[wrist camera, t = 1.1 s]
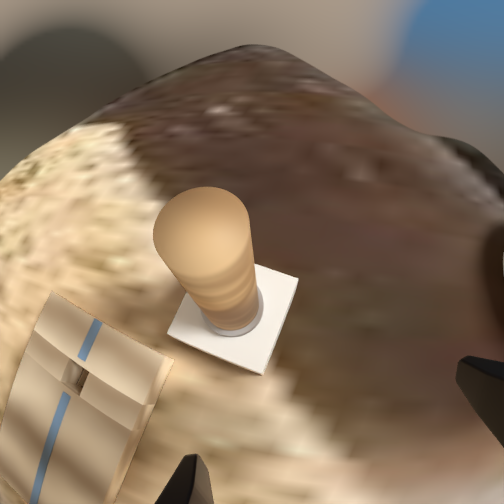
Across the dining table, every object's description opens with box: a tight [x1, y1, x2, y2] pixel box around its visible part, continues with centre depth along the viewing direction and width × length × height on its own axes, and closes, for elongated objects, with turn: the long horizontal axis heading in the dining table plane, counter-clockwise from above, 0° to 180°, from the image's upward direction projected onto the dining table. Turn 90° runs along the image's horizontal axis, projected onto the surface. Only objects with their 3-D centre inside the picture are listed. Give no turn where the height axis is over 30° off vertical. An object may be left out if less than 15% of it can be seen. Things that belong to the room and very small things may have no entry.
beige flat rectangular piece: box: [0, 291, 175, 504], centre depth 18 cm, size 20×12×3 cm, turn 158°
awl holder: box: [167, 264, 298, 375], centre depth 22 cm, size 7×7×2 cm
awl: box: [153, 187, 264, 337], centre depth 17 cm, size 4×4×13 cm
